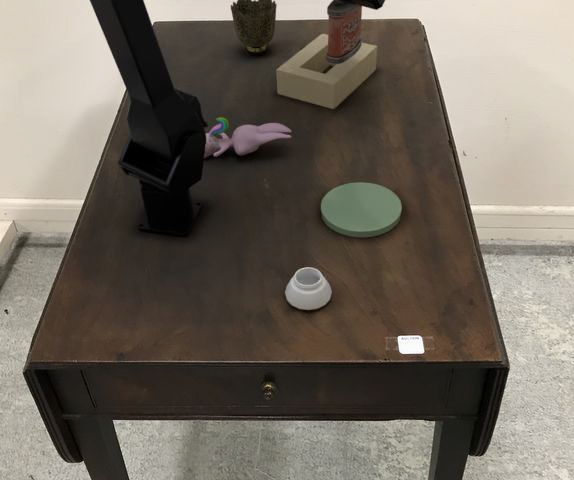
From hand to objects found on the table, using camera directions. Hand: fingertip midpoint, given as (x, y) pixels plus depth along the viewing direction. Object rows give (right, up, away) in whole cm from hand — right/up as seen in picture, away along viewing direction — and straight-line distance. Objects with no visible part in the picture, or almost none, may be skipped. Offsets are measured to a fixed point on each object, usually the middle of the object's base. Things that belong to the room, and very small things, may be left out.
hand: (351, 0), depth 98 cm
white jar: (-7, -43, -21) cm, 48 cm away
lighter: (-1, -6, +4) cm, 7 cm away
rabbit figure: (-16, -22, -1) cm, 27 cm away
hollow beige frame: (-3, -7, +12) cm, 14 cm away
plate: (0, -32, -11) cm, 34 cm away
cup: (-14, 0, +20) cm, 25 cm away
